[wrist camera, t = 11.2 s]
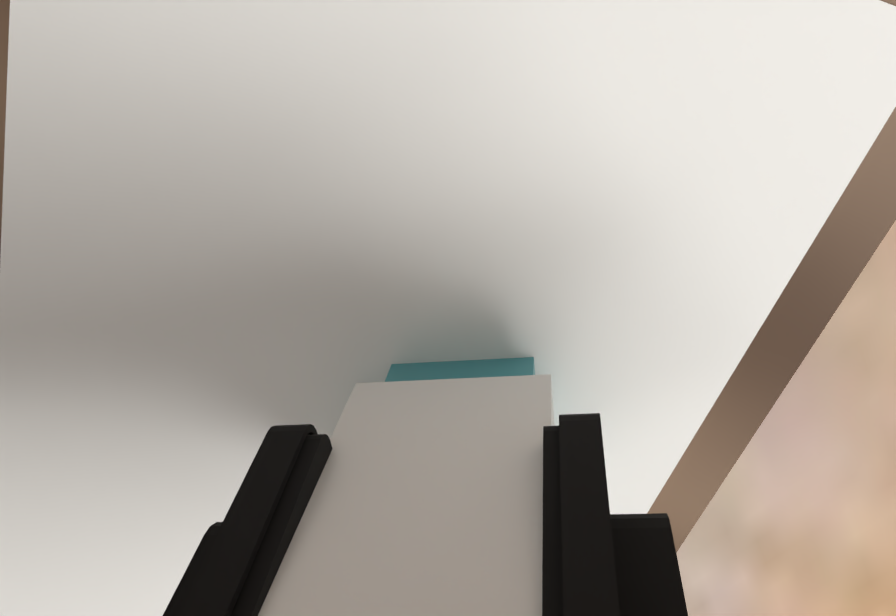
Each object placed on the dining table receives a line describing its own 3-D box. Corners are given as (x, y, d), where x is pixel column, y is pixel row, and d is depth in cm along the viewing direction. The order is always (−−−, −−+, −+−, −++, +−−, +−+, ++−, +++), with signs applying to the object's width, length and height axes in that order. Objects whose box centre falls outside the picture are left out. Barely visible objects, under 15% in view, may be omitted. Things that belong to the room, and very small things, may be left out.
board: (485, 812, 21) (483, 844, 21) (-32, 660, 20) (-52, 688, 20) (1027, -38, 11) (1061, -32, 10) (-8, -428, 10) (-52, -451, 9)
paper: (458, 813, 20) (458, 822, 20) (-11, 675, 19) (-16, 683, 19) (939, 21, 10) (946, 24, 10) (31, -314, 10) (21, -318, 9)
